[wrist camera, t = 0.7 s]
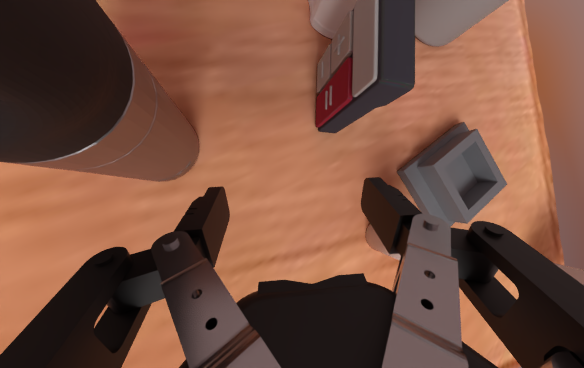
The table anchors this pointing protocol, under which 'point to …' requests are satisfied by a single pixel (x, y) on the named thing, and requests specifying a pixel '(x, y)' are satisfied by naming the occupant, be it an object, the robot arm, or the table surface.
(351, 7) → the jar
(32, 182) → the table surface
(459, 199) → the roll holder
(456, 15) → the cylinder vase
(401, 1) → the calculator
